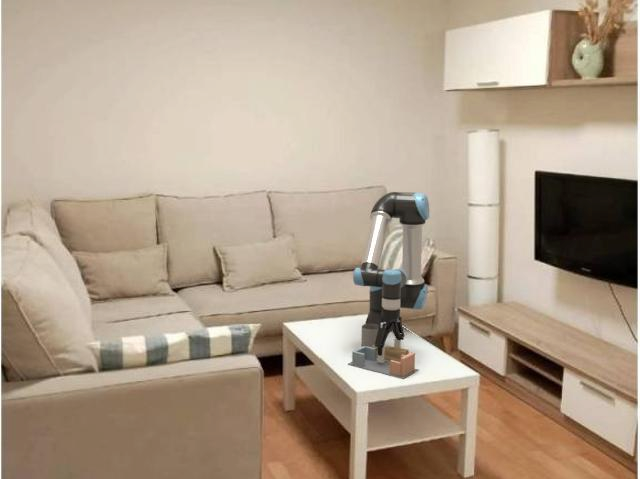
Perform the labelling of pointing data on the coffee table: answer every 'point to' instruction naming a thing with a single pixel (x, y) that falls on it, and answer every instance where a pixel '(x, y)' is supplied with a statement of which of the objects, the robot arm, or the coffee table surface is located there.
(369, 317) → the robot arm
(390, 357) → the tan wooden block
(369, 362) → the seat
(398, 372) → the endcap
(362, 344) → the cup
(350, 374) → the coffee table surface
